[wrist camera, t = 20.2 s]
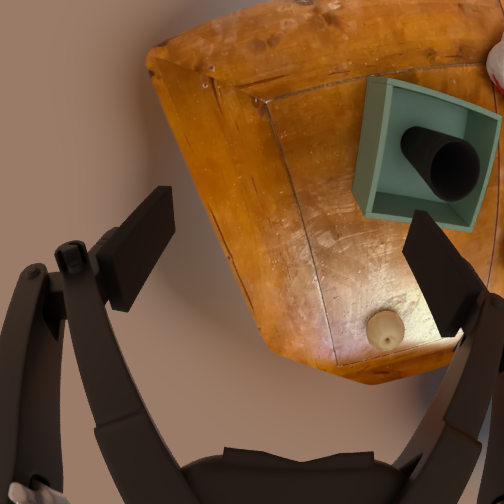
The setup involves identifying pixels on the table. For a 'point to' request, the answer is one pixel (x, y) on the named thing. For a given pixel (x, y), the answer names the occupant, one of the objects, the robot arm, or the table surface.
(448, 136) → the cup
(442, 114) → the open storage box
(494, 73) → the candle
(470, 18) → the table surface
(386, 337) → the apple
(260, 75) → the table surface
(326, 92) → the table surface
